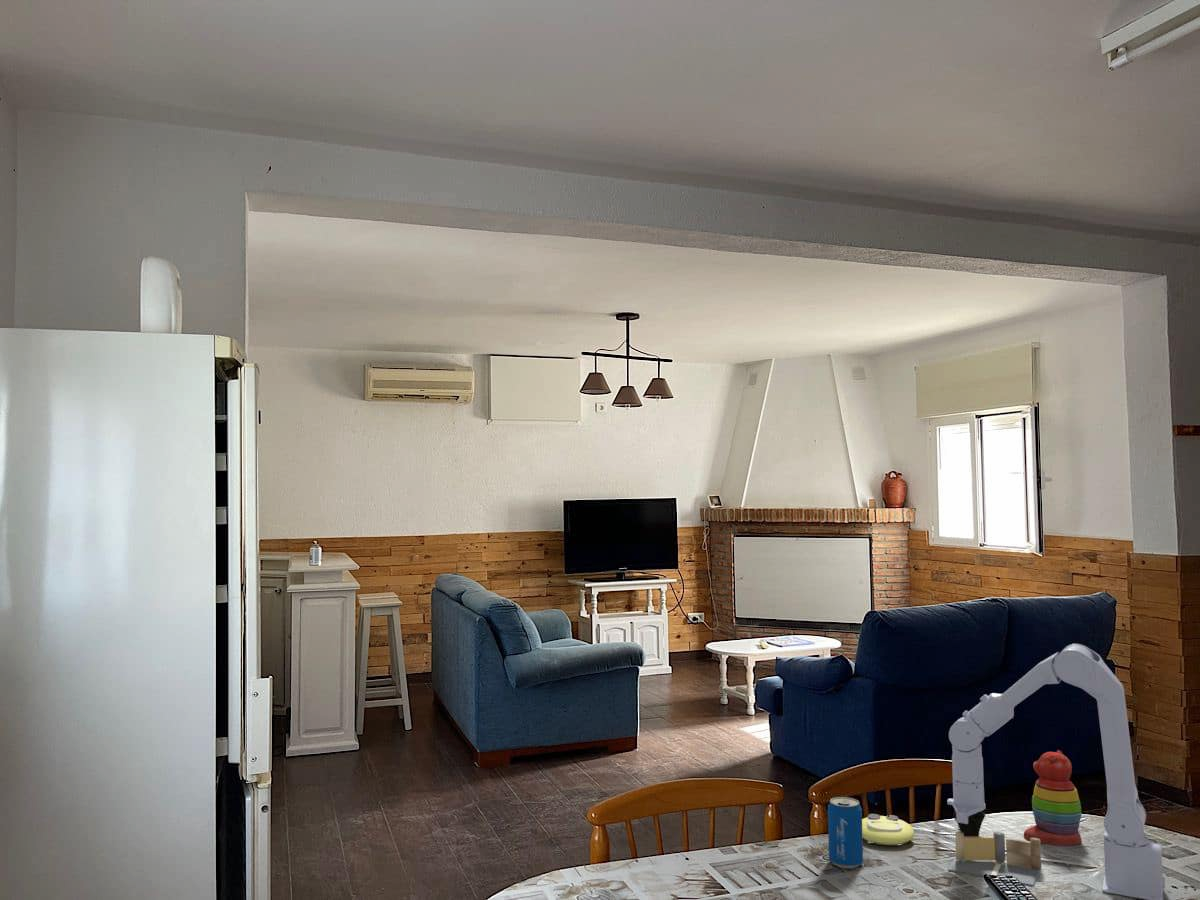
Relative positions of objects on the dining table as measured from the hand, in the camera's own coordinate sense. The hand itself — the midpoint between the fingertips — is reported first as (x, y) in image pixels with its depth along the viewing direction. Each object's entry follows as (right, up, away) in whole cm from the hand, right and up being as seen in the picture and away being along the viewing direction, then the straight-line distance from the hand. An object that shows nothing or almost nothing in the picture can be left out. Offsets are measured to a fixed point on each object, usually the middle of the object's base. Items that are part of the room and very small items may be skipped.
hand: (970, 850), depth 188 cm
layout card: (+3, -2, -4) cm, 5 cm away
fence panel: (+1, -1, -2) cm, 2 cm away
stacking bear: (+23, -3, +12) cm, 26 cm away
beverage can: (-25, -2, -2) cm, 25 cm away
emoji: (-13, -3, +12) cm, 18 cm away
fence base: (+9, -1, -4) cm, 10 cm away
